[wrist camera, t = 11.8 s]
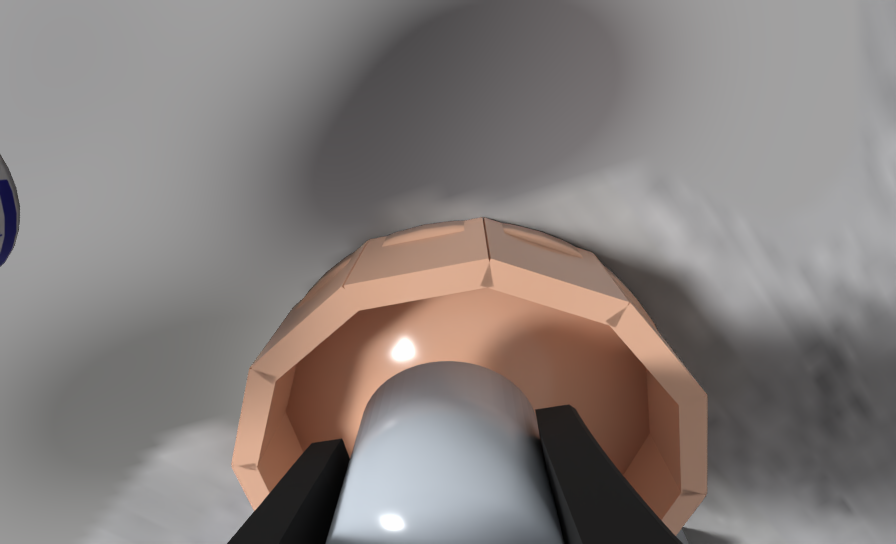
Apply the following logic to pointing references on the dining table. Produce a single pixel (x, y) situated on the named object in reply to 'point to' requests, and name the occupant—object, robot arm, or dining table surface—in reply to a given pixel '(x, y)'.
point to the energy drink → (8, 212)
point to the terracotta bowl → (479, 353)
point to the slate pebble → (447, 464)
